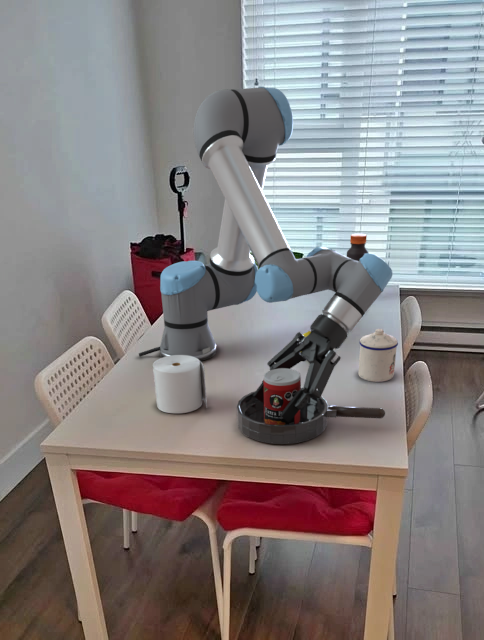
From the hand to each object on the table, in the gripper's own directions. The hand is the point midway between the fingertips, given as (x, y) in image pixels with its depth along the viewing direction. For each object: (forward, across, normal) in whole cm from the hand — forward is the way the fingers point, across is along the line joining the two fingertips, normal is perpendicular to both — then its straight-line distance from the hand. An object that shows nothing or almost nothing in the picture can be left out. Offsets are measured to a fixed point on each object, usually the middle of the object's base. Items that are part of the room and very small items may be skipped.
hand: (270, 408), depth 142 cm
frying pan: (+1, 0, -5) cm, 5 cm away
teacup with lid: (-23, +12, -29) cm, 39 cm away
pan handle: (-9, -9, -12) cm, 18 cm away
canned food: (+1, 0, -5) cm, 5 cm away
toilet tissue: (+11, +21, +5) cm, 24 cm away
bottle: (-46, +65, -52) cm, 95 cm away
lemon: (-16, +28, -23) cm, 39 cm away
